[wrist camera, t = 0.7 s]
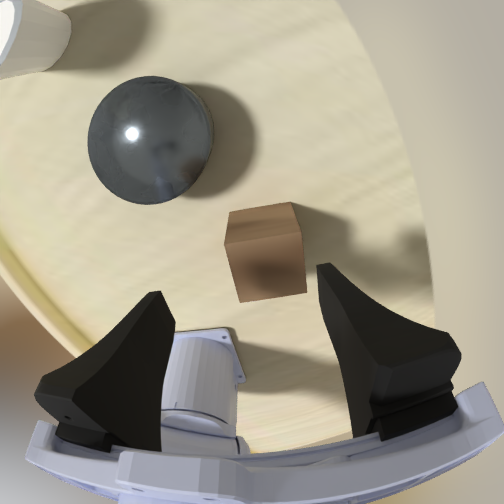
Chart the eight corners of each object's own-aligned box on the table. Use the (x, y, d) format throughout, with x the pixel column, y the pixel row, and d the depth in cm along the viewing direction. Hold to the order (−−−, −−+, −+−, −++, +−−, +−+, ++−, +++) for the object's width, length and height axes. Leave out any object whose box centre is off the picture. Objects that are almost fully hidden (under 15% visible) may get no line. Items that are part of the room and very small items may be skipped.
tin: (227, 177, 19) (223, 189, 17) (125, 201, 20) (109, 216, 17) (203, 65, 15) (194, 58, 13) (97, 102, 16) (75, 104, 13)
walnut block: (296, 253, 22) (307, 292, 18) (241, 262, 23) (239, 302, 18) (290, 201, 20) (301, 231, 16) (229, 211, 21) (224, 244, 16)
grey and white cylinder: (71, -9, 10) (20, -27, 4) (85, 48, 13) (26, 40, 7) (16, 38, 11) (-38, 38, 5) (27, 94, 14) (-31, 105, 8)
